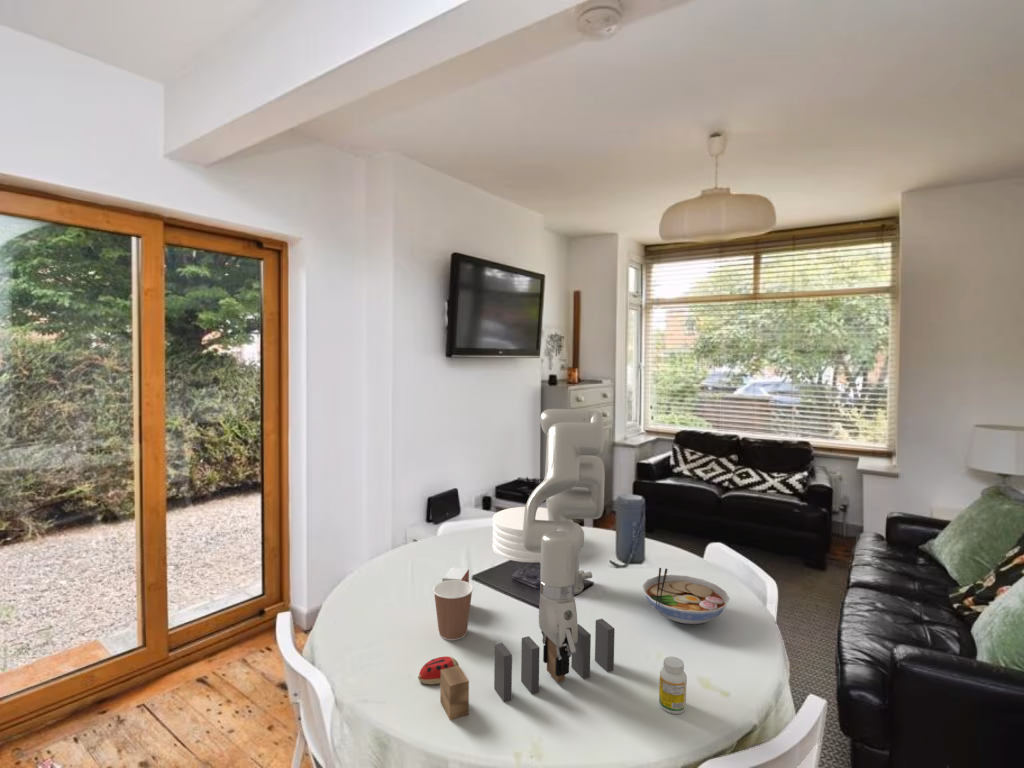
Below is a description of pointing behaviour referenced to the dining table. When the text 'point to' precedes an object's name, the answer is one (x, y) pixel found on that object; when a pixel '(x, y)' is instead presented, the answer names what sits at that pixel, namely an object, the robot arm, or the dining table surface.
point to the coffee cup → (453, 608)
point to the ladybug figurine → (435, 669)
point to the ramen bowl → (685, 598)
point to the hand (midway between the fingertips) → (555, 666)
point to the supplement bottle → (673, 686)
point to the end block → (454, 692)
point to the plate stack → (514, 534)
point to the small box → (457, 575)
